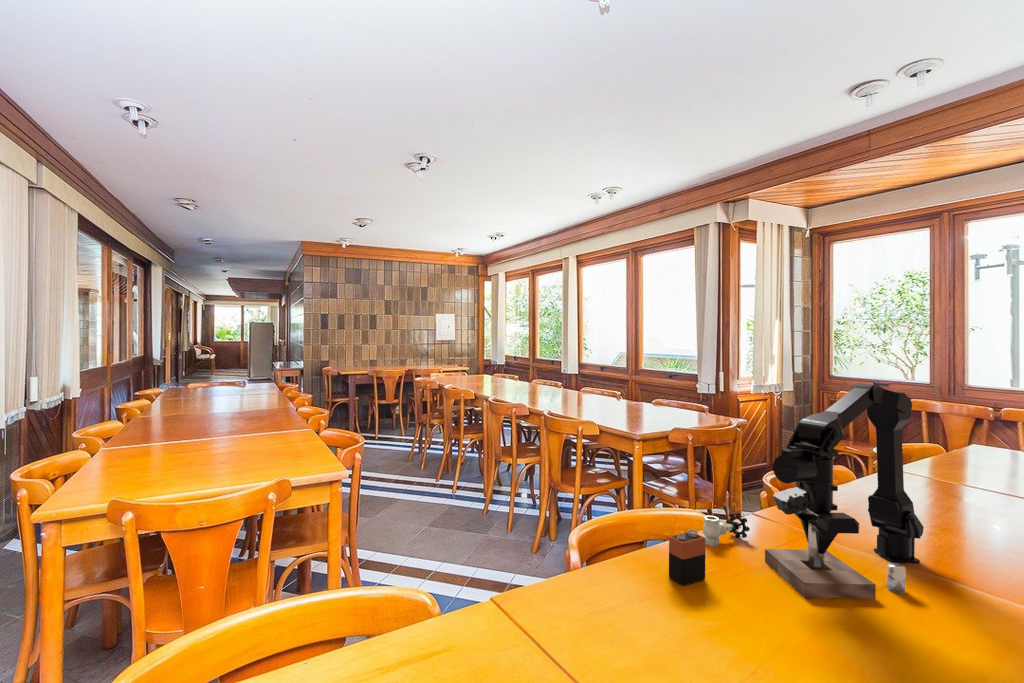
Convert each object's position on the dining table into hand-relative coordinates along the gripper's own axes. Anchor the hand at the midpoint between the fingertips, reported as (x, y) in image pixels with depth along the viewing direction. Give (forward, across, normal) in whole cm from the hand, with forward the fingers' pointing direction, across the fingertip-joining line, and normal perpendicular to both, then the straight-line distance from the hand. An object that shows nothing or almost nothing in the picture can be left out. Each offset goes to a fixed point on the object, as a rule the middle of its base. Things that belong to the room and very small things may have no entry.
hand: (816, 550), depth 106 cm
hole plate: (+6, 0, 0) cm, 6 cm away
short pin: (+6, +4, +14) cm, 16 cm away
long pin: (+3, 0, 0) cm, 3 cm away
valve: (+7, -20, -12) cm, 24 cm away
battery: (+6, +1, -28) cm, 29 cm away
